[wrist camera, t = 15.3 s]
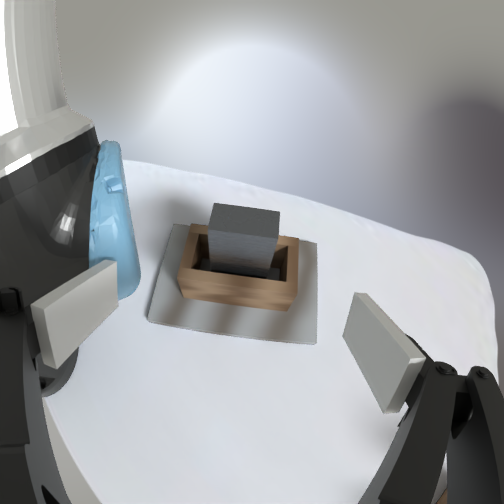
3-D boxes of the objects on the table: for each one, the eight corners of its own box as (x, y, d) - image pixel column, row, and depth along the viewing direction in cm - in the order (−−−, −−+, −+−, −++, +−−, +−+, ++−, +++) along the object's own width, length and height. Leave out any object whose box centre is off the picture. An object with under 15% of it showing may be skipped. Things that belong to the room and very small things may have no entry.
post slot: (149, 322, 32) (133, 302, 26) (174, 228, 39) (168, 197, 34) (314, 344, 32) (332, 330, 27) (315, 247, 40) (328, 219, 34)
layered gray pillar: (212, 287, 34) (207, 229, 24) (216, 266, 36) (214, 202, 25) (261, 294, 34) (278, 238, 24) (263, 272, 36) (279, 211, 26)
